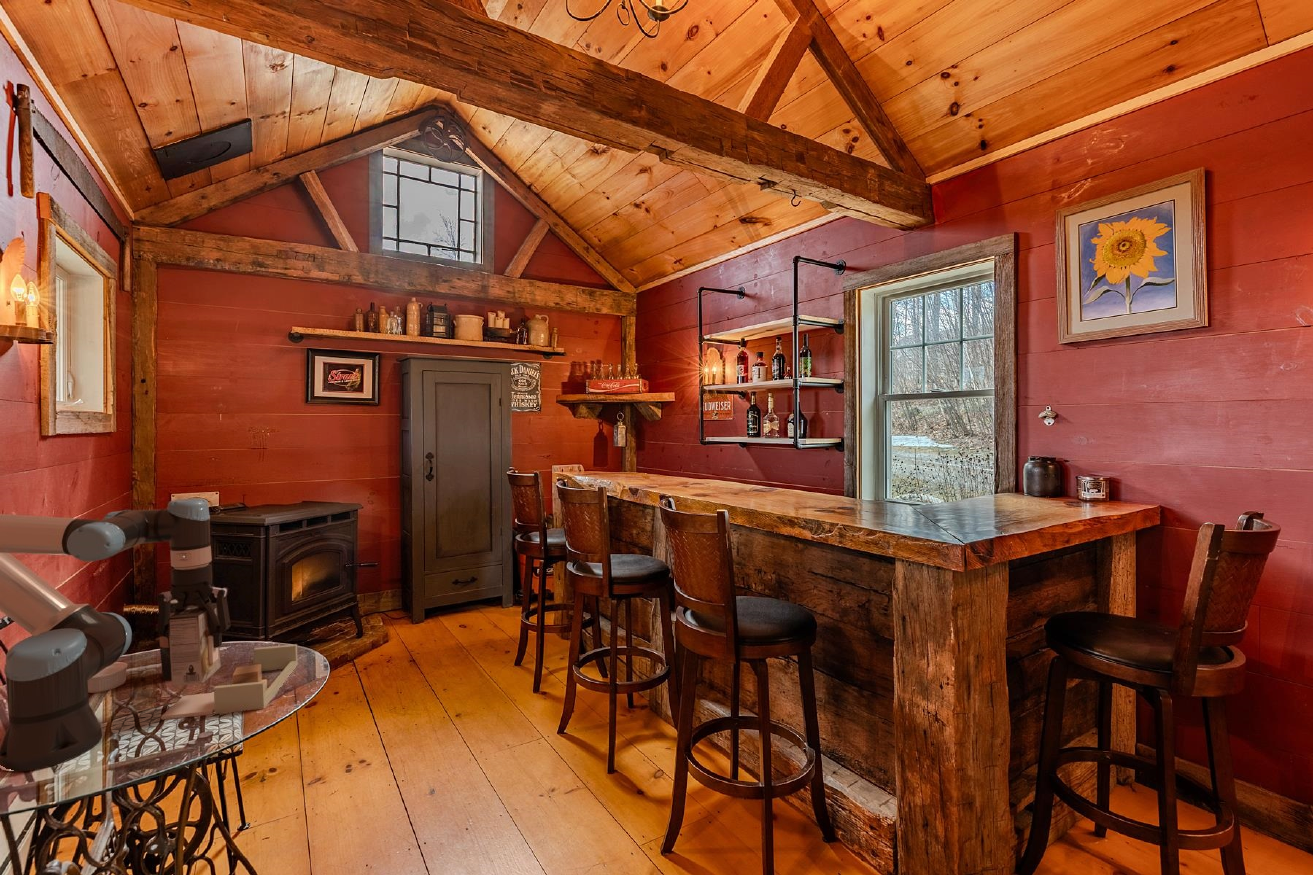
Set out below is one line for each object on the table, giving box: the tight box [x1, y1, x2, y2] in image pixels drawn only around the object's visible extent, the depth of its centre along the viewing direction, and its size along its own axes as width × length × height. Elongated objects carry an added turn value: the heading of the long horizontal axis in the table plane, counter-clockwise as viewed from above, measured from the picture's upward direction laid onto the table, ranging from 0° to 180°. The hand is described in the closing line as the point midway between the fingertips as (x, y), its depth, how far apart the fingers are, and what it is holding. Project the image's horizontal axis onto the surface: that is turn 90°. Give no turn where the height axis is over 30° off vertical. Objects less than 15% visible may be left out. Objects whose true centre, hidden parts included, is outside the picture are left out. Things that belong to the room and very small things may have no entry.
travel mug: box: [157, 596, 178, 681], centre depth 161 cm, size 8×8×20 cm
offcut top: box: [232, 664, 263, 684], centre depth 146 cm, size 5×5×4 cm
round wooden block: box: [88, 661, 128, 694], centre depth 155 cm, size 9×9×4 cm
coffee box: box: [168, 602, 222, 687], centre depth 143 cm, size 9×6×16 cm
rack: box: [213, 643, 299, 715], centre depth 153 cm, size 10×24×6 cm, turn 14°
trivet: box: [160, 692, 215, 720], centre depth 144 cm, size 10×10×1 cm
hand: (196, 662), depth 143 cm, fingers closed on coffee box, 6 cm apart
